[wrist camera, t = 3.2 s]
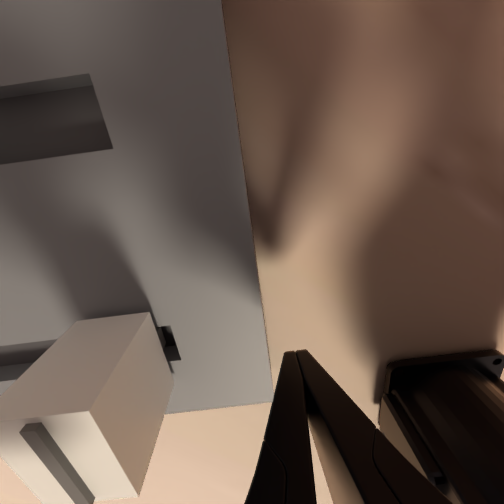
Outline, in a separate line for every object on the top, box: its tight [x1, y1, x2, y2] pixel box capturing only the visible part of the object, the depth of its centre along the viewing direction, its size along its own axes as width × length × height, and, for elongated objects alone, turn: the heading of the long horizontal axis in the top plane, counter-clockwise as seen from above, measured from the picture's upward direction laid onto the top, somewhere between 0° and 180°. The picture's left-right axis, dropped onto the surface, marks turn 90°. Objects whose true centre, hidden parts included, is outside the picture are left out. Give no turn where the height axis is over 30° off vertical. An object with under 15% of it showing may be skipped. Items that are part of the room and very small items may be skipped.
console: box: [0, 0, 274, 414], centre depth 10 cm, size 20×18×2 cm
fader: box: [0, 312, 174, 504], centre depth 9 cm, size 3×4×5 cm
